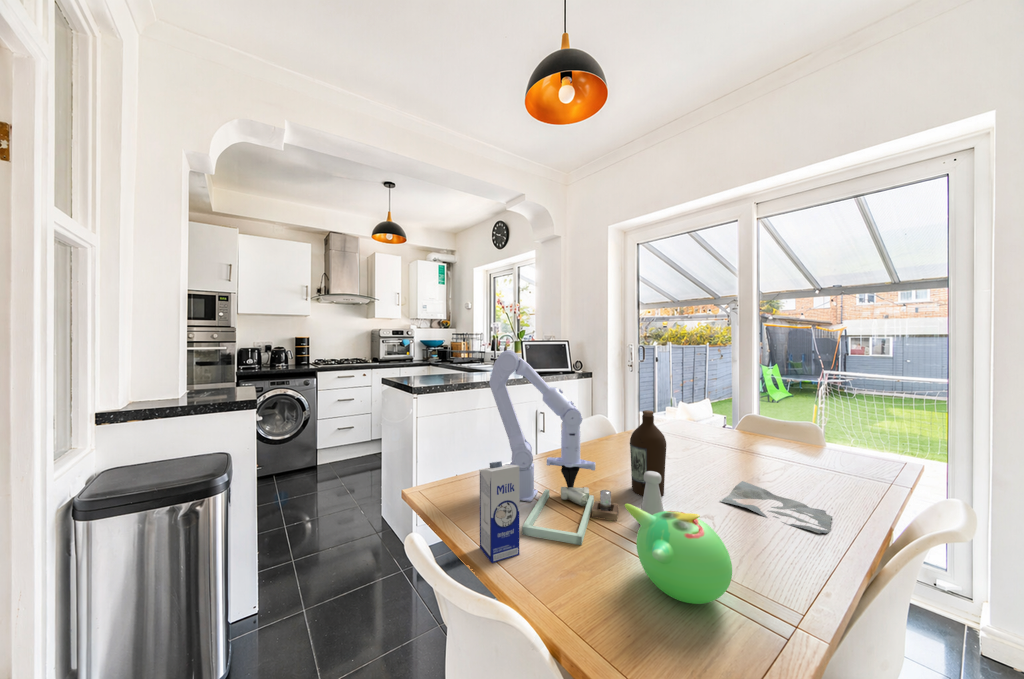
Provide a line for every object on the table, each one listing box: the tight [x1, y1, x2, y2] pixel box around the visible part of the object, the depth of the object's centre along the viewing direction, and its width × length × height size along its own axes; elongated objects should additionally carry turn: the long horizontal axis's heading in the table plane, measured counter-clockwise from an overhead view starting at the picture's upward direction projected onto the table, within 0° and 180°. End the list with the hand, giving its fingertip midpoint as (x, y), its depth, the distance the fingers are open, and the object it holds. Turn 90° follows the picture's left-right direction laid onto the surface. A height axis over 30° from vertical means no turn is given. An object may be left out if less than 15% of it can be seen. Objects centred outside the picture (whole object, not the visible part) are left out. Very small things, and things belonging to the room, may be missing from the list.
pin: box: [599, 489, 612, 512], centre depth 104 cm, size 3×3×6 cm
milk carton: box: [478, 460, 520, 564], centre depth 86 cm, size 7×7×20 cm
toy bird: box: [624, 503, 733, 605], centre depth 73 cm, size 18×17×15 cm
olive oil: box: [629, 409, 667, 497], centre depth 118 cm, size 11×11×25 cm
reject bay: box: [521, 488, 595, 546], centre depth 102 cm, size 14×24×2 cm, turn 161°
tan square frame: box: [591, 500, 619, 522], centre depth 104 cm, size 6×6×2 cm
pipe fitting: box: [560, 486, 590, 507], centre depth 111 cm, size 8×4×7 cm
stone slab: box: [719, 480, 833, 534], centre depth 106 cm, size 24×16×2 cm, turn 38°
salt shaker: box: [640, 471, 665, 515], centre depth 99 cm, size 6×6×13 cm
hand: (570, 490), depth 115 cm, fingers closed
